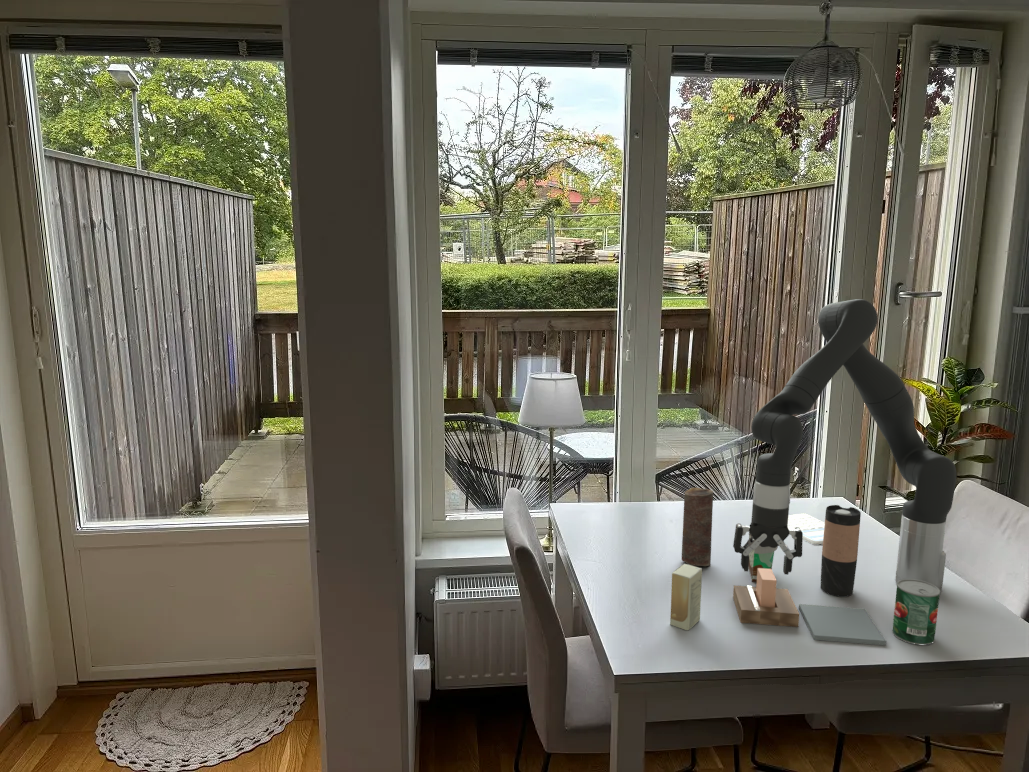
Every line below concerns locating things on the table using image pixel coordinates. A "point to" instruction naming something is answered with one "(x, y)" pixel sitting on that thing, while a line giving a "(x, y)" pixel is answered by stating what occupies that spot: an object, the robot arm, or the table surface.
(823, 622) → the mat
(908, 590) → the canned tomato
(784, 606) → the brown flat square frame
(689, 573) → the skincare box
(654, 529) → the table surface
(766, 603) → the tall peach block
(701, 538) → the candle
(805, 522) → the calculator
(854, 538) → the travel mug
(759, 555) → the food container
